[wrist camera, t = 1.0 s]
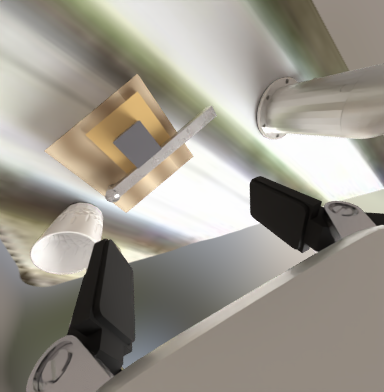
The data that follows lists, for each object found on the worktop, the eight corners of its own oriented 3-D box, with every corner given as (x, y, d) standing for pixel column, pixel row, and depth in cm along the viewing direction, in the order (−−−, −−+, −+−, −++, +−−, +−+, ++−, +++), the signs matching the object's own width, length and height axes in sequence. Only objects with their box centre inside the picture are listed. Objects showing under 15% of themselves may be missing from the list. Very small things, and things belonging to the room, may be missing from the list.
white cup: (99, 236, 33) (90, 275, 25) (53, 229, 29) (24, 273, 21) (111, 205, 31) (106, 236, 23) (64, 194, 27) (36, 226, 19)
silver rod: (203, 105, 25) (211, 104, 22) (209, 117, 26) (217, 117, 23) (104, 189, 24) (102, 196, 22) (114, 197, 25) (113, 204, 23)
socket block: (135, 82, 24) (137, 73, 20) (184, 151, 32) (193, 156, 28) (58, 145, 24) (44, 151, 20) (126, 200, 32) (126, 212, 28)
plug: (135, 95, 23) (140, 83, 16) (171, 143, 28) (187, 151, 21) (91, 132, 23) (74, 138, 16) (134, 174, 28) (137, 194, 21)
